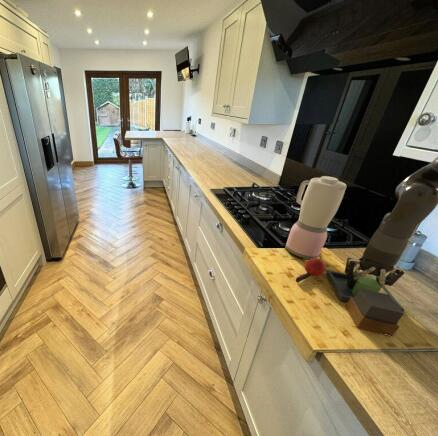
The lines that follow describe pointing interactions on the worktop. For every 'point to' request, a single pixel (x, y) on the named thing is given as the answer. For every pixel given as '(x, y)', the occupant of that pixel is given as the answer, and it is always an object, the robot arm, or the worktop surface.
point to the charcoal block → (378, 306)
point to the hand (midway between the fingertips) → (360, 289)
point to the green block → (366, 284)
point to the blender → (314, 216)
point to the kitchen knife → (303, 277)
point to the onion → (315, 267)
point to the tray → (342, 289)
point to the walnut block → (369, 320)
